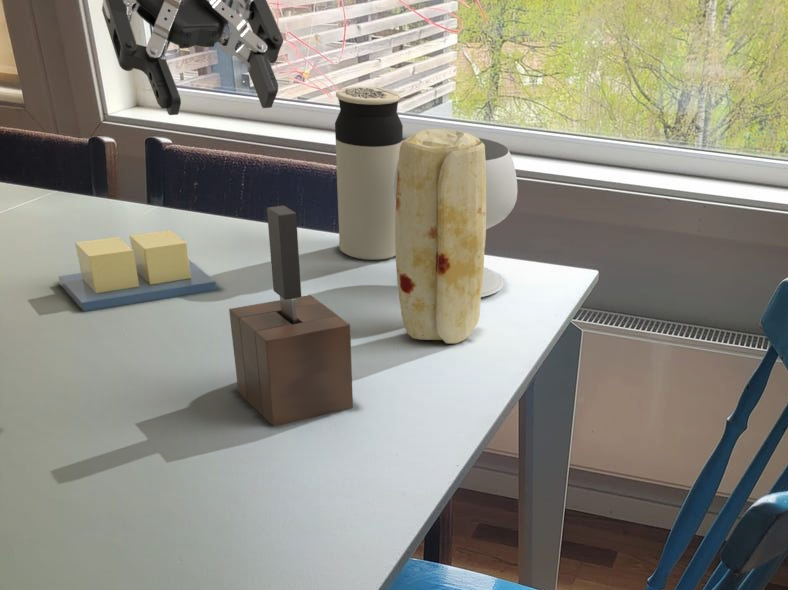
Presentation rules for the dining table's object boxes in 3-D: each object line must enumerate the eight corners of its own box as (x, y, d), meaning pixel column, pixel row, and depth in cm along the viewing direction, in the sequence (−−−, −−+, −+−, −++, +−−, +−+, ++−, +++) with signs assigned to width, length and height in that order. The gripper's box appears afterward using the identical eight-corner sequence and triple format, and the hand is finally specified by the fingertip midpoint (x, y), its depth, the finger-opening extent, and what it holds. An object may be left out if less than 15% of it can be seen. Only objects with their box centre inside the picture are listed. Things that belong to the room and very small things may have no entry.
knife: (293, 407, 92) (279, 215, 81) (281, 396, 93) (265, 207, 83) (309, 403, 93) (296, 213, 82) (297, 393, 94) (283, 204, 83)
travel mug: (353, 264, 122) (349, 101, 111) (330, 244, 128) (323, 87, 117) (412, 257, 126) (413, 98, 114) (387, 238, 131) (386, 84, 120)
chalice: (392, 263, 124) (391, 130, 114) (503, 264, 125) (511, 134, 116) (396, 304, 113) (395, 162, 103) (517, 306, 114) (528, 166, 105)
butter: (83, 311, 107) (74, 264, 104) (60, 285, 113) (50, 239, 109) (216, 290, 114) (211, 245, 111) (187, 265, 119) (182, 222, 116)
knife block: (273, 427, 89) (265, 340, 84) (238, 392, 94) (228, 308, 89) (353, 408, 92) (350, 324, 87) (315, 375, 97) (310, 294, 92)
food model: (464, 318, 111) (472, 120, 98) (494, 340, 106) (506, 136, 94) (385, 331, 107) (382, 127, 94) (412, 355, 102) (413, 143, 90)
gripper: (75, -109, 79) (148, 82, 79) (244, -105, 85) (311, 72, 85) (70, -36, 85) (137, 139, 85) (226, -38, 92) (289, 126, 92)
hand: (224, 105), depth 85 cm, fingers open, 8 cm apart
